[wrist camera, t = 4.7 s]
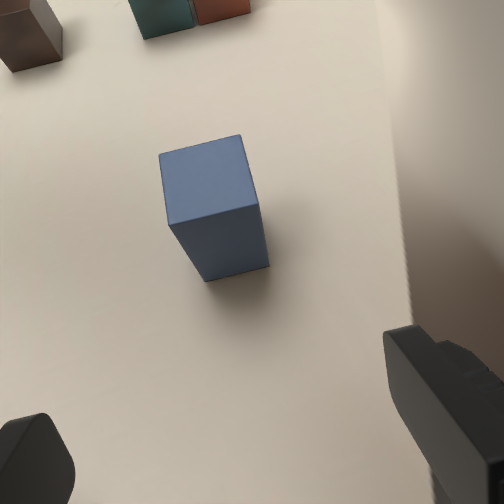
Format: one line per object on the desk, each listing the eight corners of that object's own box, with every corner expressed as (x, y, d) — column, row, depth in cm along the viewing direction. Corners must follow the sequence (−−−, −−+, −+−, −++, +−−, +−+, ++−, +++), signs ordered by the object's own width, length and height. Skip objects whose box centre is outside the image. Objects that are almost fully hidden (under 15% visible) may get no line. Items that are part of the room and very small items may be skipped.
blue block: (204, 282, 26) (167, 226, 18) (194, 225, 28) (157, 153, 20) (270, 266, 26) (259, 203, 18) (255, 210, 28) (240, 133, 20)
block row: (11, 72, 37) (-29, 23, 32) (14, 38, 39) (-23, -13, 34) (250, 12, 37) (244, -46, 32) (240, -18, 39) (232, -77, 34)
